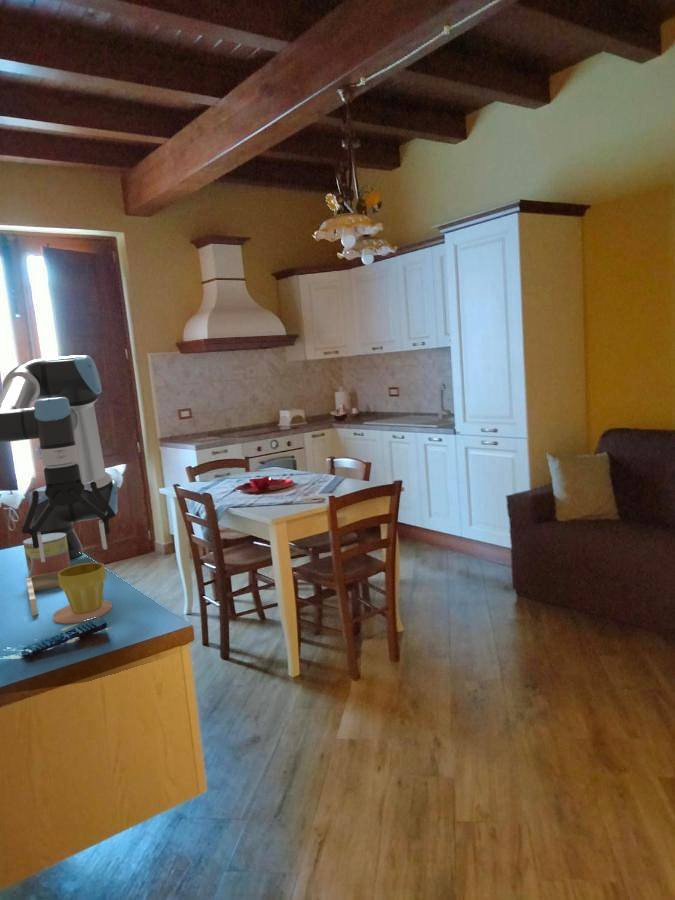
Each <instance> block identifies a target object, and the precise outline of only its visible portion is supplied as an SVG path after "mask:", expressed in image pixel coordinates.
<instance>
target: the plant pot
mask: <svg viewBox="0 0 675 900" xmlns="http://www.w3.org/2000/svg"><path fill="white" fill-rule="evenodd" d="M106 579H107V574H106V568H105V564H104V563H103V562H102V563H101V562H94V561H93V562H82V563H79V564H75V565H74V564H73V565H71V567H68V568H65V569H63V570H61V571H60V572H59V573H58V580H59V585H60V586H59V588H60V589H62V590H63V591H64V592H63V593H64V594H65V596H66V599H67V601H68V604H69V605H70V606H71V609H72V611H73V613H77V614H81V613H88V612H92V611H94V610H97V609H99V608H100V607H101V606H102V600H104V599H103V598H104V597H103V596H104V581H105V580H106Z"/></svg>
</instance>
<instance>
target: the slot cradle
mask: <svg viewBox="0 0 675 900" xmlns="http://www.w3.org/2000/svg"><path fill="white" fill-rule="evenodd" d="M60 571H61V570H59V571H54V572H50V573H45V574H40V575H35V576H31V577H29V576H26V577H25V578H26V579H25V580H26V586H27V592H28V597H29V603H30V608H31V609H30V610H31V615H32V617H33V616H38V614H39V613H38V607H37V601H36V594H35V592H40V591H44V590H47V589H54V588H56V587H60V585H59V580H58V573H59V572H60Z"/></svg>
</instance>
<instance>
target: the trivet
mask: <svg viewBox="0 0 675 900" xmlns="http://www.w3.org/2000/svg"><path fill="white" fill-rule="evenodd" d="M112 609H113V604H112V602H111V601H110V600H107V599H102V606H101V607H100V608H99V609H97V610H94V611H92V612H88V613H81V614H77V613H73V611H72V609H71V606H70V604H69V605H66V606H64V607H61V608H59V609H58V610H56V611H55V612H54V613H53V614H52V618H53V619H52V620H53V621H54V623H57V624H60V625H61V624H62V625H73V624H79V622H80V623H83V622H82V621H84V620H87V619H91V618H94V617H98V618H100V617H102V616H104V615H106V614H108V613H110V612H111V610H112Z"/></svg>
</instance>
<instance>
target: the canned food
mask: <svg viewBox="0 0 675 900" xmlns="http://www.w3.org/2000/svg"><path fill="white" fill-rule="evenodd" d="M41 538H42V544H43V550H44V557H45V562H41V557H40V551H39V548H34V547H33V542H32V536H31V537H29V538H26V539H24V540H23V541H22V544H23V549H24V555H25V560H26V561H25V562H26V567H27V573H28V577H31V576H35V575H40V574H45V573H50V572H54V571H59V570H63V569H65V568H68V567H71V566H72V564H71V559H70V558H69V551H68V544H67V538H66V533H49V534H43V535H41Z"/></svg>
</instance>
